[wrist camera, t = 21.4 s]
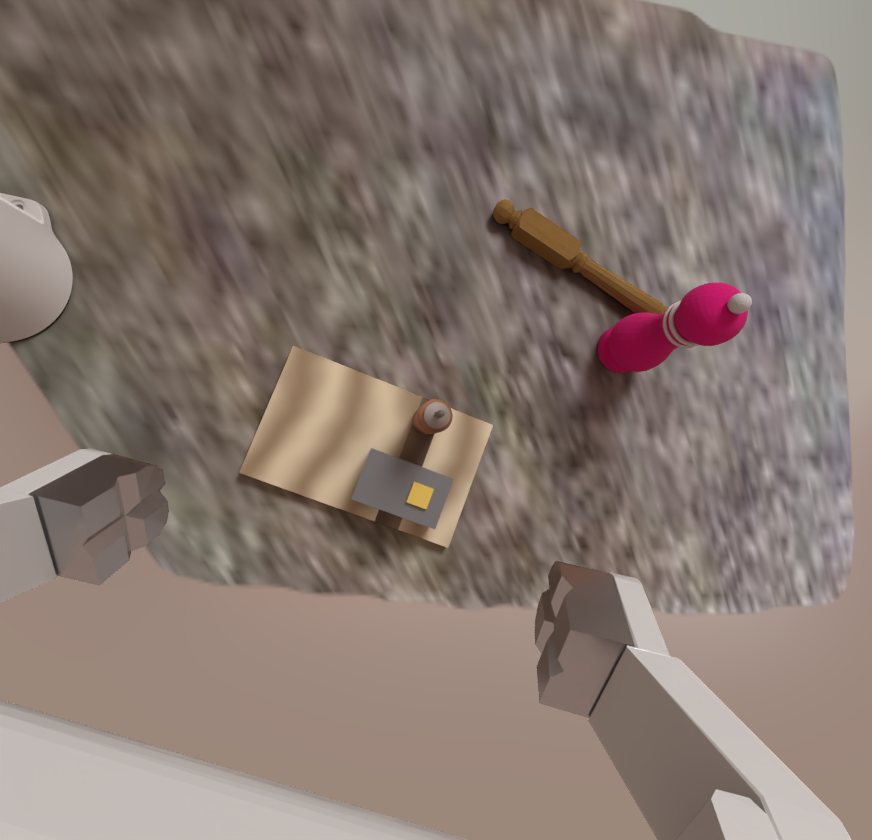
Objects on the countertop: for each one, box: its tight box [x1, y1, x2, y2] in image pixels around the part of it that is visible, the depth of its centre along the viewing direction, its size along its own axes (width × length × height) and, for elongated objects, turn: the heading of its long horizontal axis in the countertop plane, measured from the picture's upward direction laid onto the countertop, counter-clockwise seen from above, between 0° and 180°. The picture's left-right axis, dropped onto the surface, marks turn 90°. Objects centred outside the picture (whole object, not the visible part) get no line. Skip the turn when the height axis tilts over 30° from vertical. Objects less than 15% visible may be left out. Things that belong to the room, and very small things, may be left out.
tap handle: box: [493, 200, 668, 315], centre depth 55 cm, size 3×3×30 cm
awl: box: [412, 399, 453, 435], centre depth 45 cm, size 3×3×13 cm
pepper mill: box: [598, 283, 752, 373], centre depth 46 cm, size 7×7×20 cm
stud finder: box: [351, 448, 454, 529], centre depth 48 cm, size 10×6×4 cm, turn 69°
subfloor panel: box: [239, 346, 493, 548], centre depth 51 cm, size 26×16×1 cm, turn 69°
